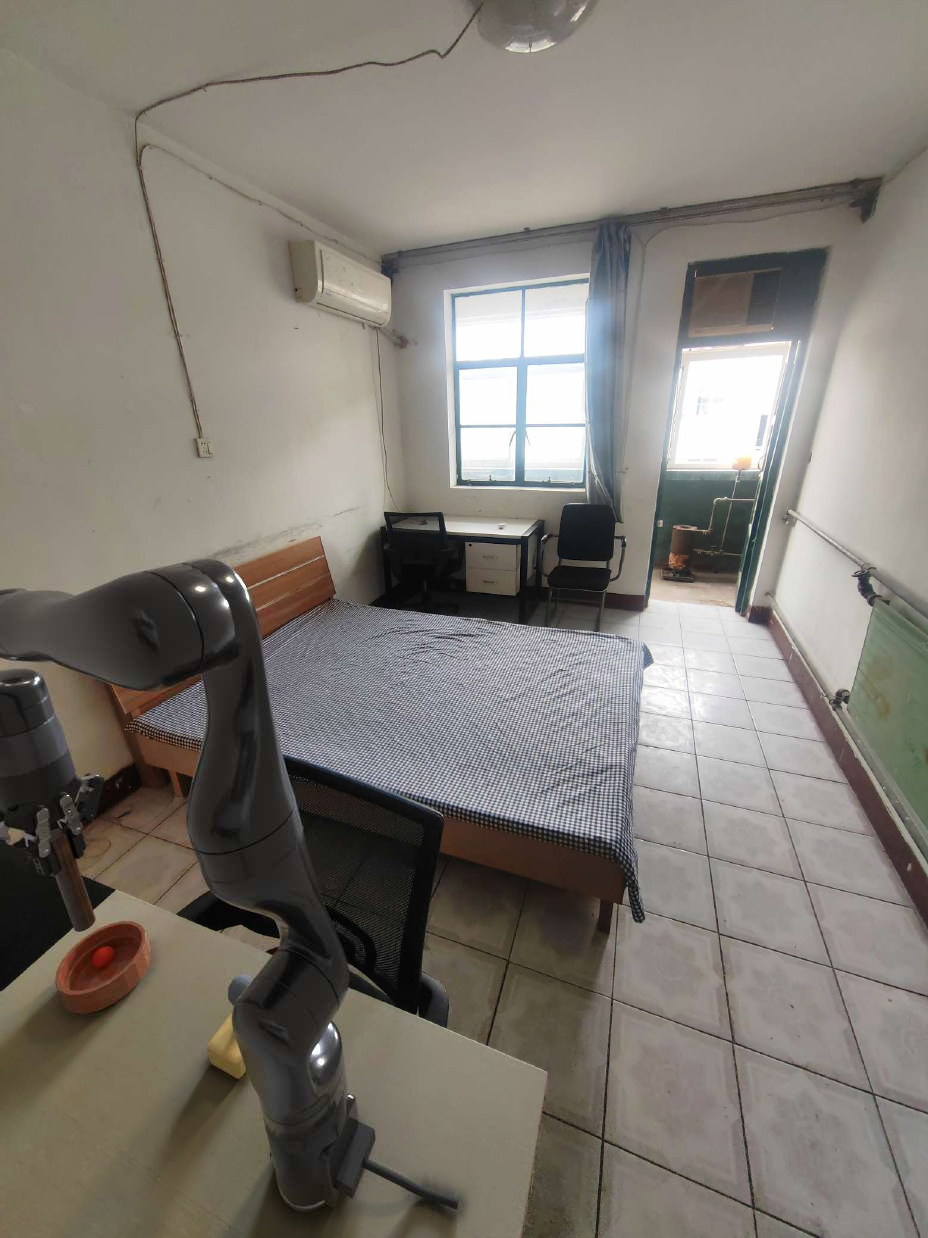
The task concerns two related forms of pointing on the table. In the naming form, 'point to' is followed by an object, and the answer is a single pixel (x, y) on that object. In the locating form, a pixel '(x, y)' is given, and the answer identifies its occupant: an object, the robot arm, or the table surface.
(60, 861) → the stick
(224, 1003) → the table surface
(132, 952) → the bowl
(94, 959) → the ball
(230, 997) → the rubber stamp
